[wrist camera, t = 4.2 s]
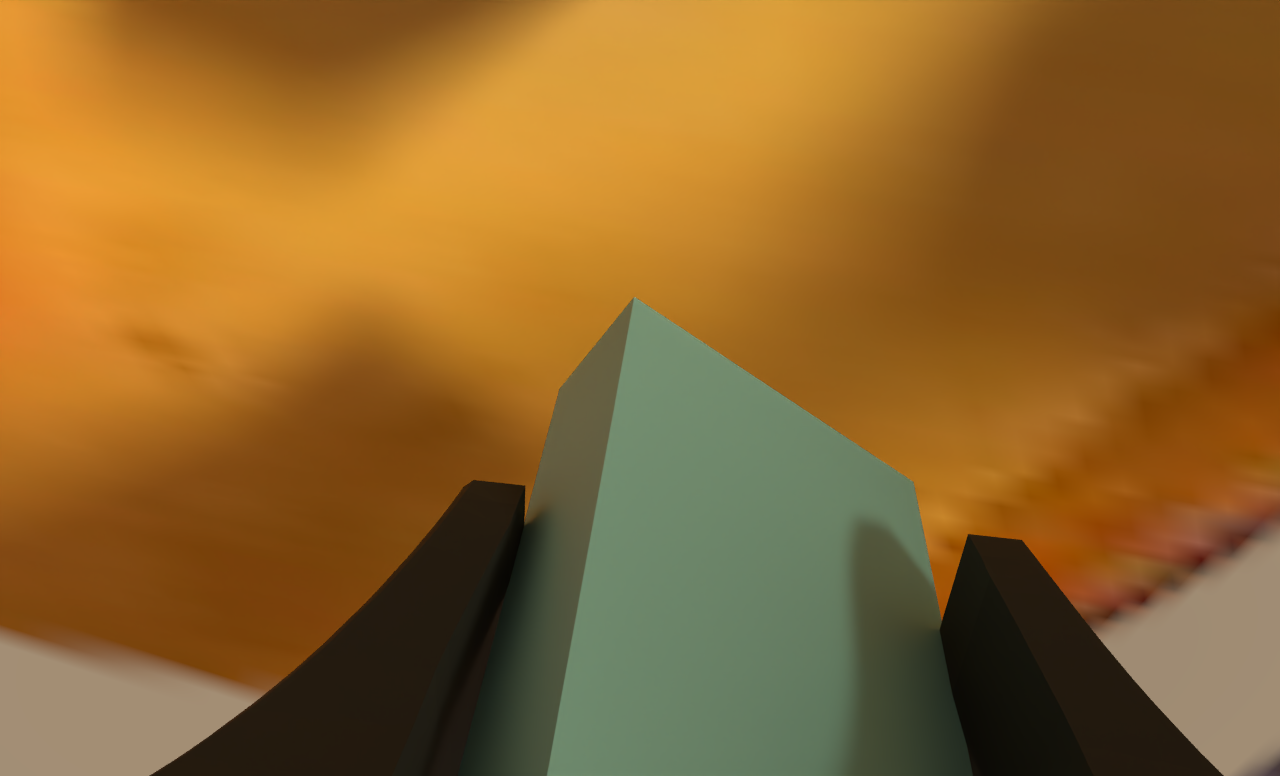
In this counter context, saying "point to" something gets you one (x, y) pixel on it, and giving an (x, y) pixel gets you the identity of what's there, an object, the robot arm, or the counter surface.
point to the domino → (711, 588)
